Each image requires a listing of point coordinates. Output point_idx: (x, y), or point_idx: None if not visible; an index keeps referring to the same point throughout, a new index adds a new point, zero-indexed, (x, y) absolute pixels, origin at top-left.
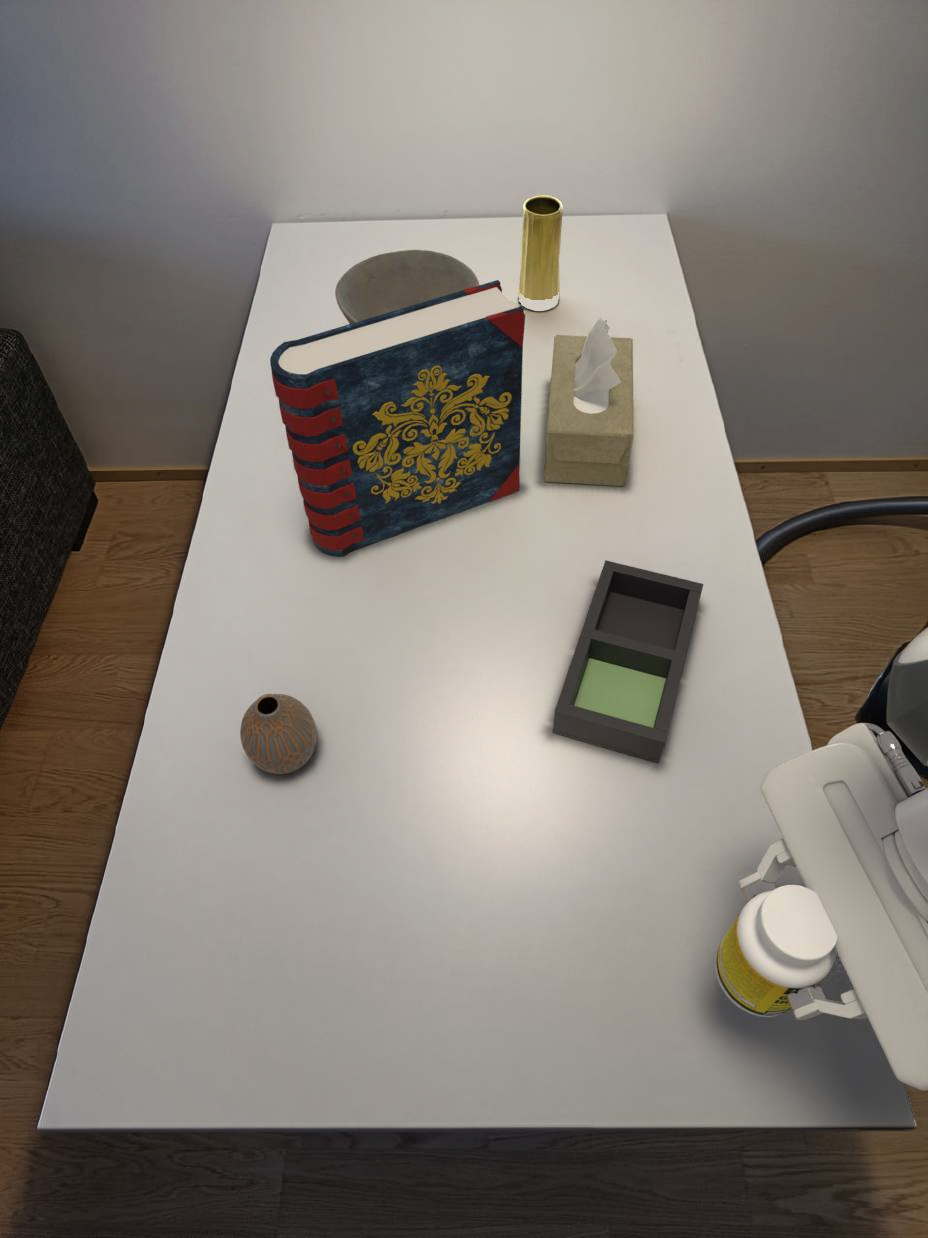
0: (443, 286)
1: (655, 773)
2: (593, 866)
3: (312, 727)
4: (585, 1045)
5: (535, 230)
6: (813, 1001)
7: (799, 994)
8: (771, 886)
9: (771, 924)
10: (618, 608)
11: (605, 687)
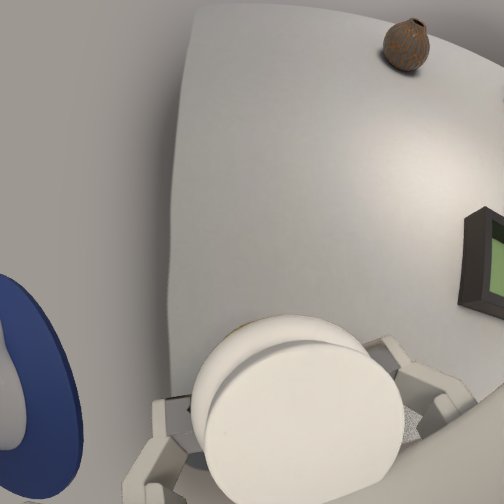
0: None
1: (450, 302)
2: (373, 243)
3: (417, 55)
4: (222, 228)
5: None
6: (166, 434)
7: (185, 414)
8: None
9: (302, 370)
10: None
11: (500, 260)
